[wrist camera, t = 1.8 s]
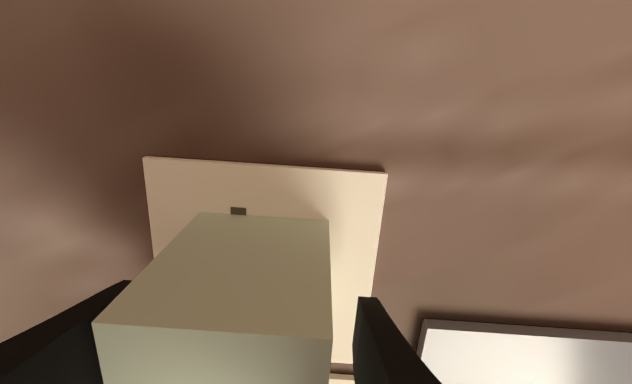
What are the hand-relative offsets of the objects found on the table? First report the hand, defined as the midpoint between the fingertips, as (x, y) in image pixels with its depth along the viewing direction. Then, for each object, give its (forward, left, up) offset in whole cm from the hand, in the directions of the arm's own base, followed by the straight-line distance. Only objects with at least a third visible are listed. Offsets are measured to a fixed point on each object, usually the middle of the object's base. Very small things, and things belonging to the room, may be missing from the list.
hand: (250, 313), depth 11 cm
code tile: (0, 0, -3) cm, 3 cm away
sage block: (0, 0, -3) cm, 3 cm away
